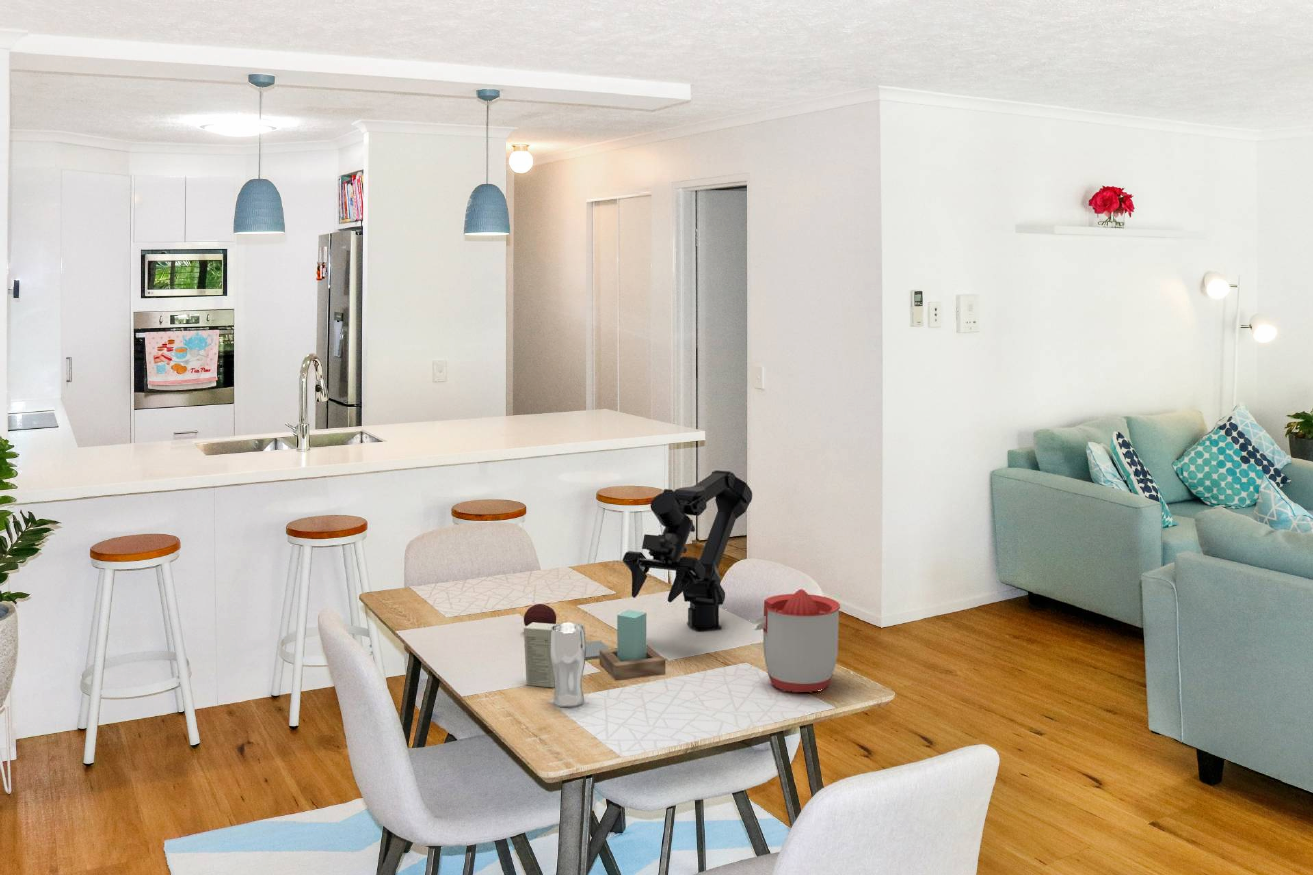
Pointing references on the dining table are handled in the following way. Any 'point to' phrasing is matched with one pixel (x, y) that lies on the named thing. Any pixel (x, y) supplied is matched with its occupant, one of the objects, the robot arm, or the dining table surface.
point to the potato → (540, 615)
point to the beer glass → (568, 663)
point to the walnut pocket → (632, 664)
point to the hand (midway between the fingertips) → (650, 599)
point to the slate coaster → (594, 649)
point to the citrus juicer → (800, 640)
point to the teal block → (631, 636)
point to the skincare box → (538, 655)
